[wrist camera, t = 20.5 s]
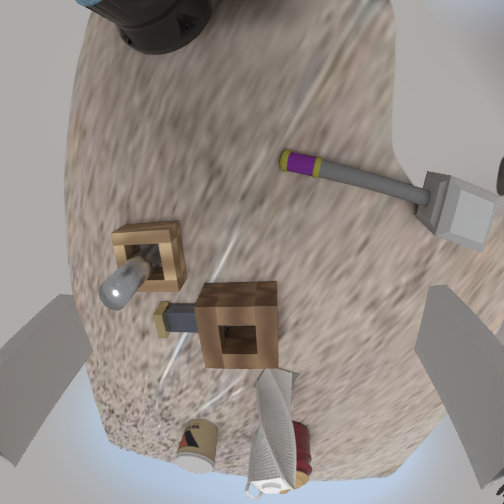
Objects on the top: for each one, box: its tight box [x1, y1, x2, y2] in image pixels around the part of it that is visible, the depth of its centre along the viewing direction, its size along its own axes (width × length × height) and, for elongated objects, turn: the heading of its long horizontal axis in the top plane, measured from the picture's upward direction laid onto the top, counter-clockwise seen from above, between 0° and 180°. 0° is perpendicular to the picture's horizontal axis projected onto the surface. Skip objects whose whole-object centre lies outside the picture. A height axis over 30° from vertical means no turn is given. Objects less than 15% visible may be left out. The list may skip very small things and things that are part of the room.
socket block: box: [194, 281, 278, 369], centre depth 49 cm, size 12×12×8 cm
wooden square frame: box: [111, 221, 187, 292], centre depth 47 cm, size 10×10×5 cm
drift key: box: [153, 302, 228, 338], centre depth 51 cm, size 12×5×4 cm, turn 94°
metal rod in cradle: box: [99, 243, 162, 310], centre depth 42 cm, size 4×4×16 cm
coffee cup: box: [175, 419, 218, 474], centre depth 60 cm, size 9×9×12 cm
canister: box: [279, 422, 312, 494], centre depth 56 cm, size 13×13×18 cm
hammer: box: [280, 149, 499, 252], centre depth 38 cm, size 15×8×30 cm
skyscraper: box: [245, 368, 299, 500], centre depth 45 cm, size 8×8×28 cm
